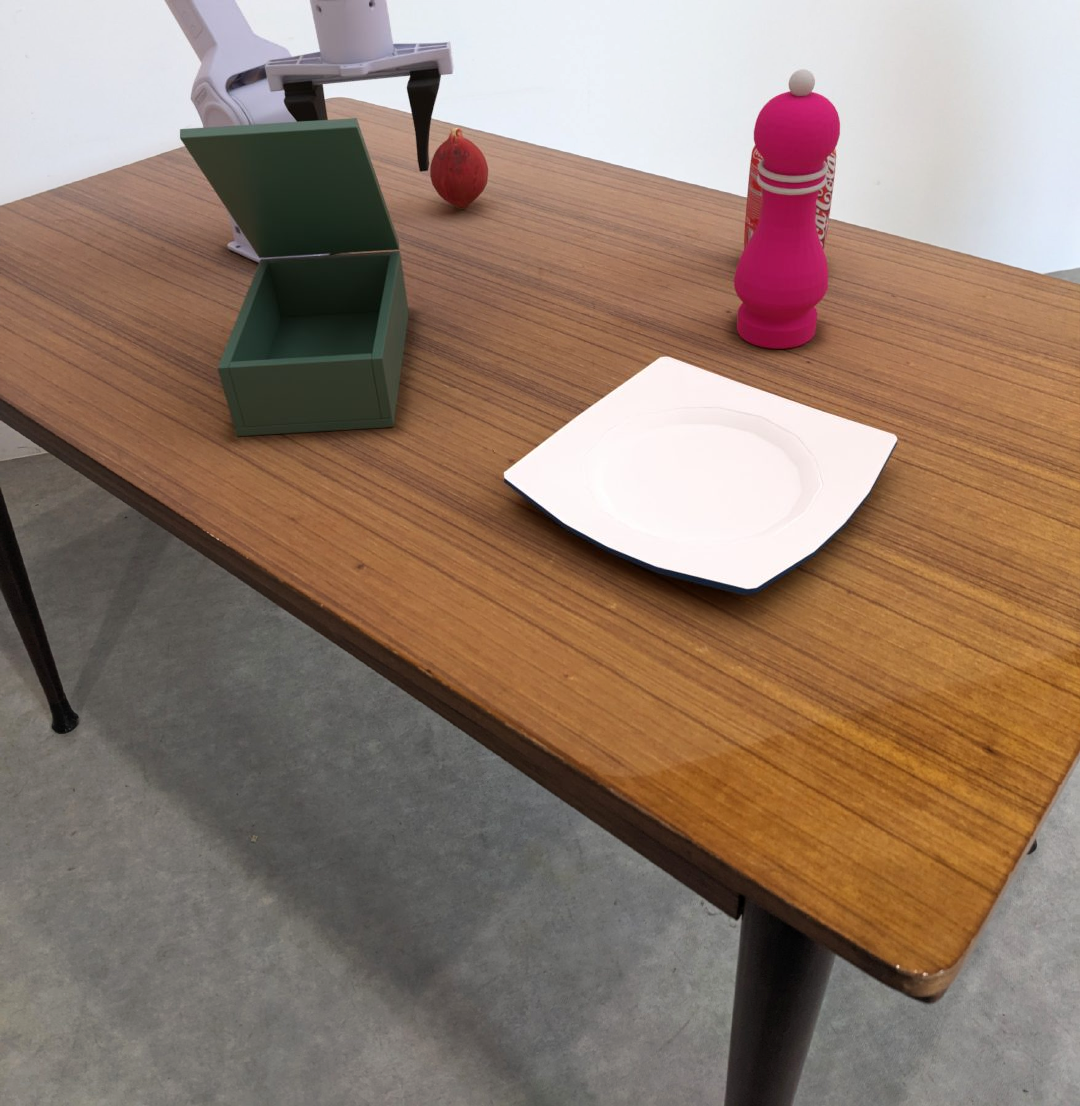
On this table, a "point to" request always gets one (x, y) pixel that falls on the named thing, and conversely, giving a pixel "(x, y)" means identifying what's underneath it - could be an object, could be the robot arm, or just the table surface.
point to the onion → (458, 170)
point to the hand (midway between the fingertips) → (379, 171)
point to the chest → (317, 345)
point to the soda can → (756, 198)
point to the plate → (704, 477)
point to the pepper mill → (787, 219)
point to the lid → (296, 186)
